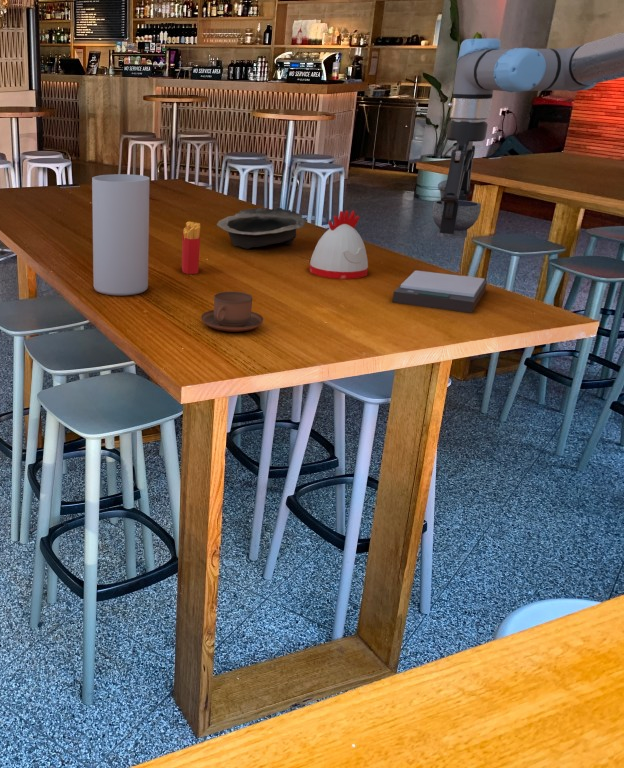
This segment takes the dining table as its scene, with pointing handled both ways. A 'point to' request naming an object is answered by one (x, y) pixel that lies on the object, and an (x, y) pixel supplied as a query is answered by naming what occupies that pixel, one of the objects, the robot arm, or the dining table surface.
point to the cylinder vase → (120, 234)
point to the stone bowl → (262, 227)
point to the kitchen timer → (340, 250)
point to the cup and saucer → (232, 313)
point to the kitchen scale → (441, 291)
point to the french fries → (190, 248)
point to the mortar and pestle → (465, 214)
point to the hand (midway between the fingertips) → (451, 229)
